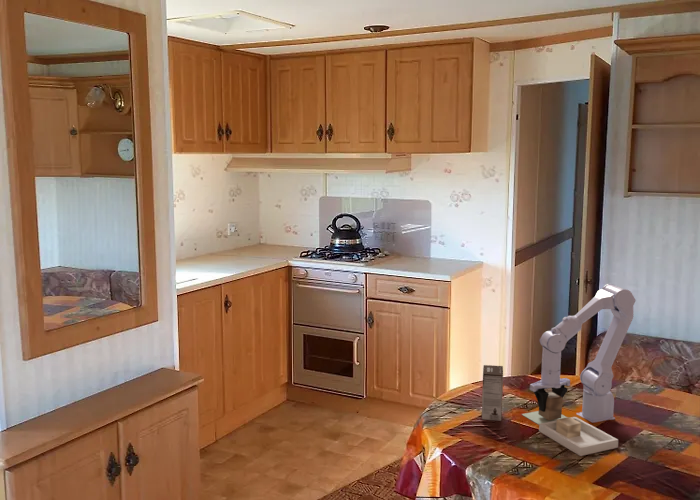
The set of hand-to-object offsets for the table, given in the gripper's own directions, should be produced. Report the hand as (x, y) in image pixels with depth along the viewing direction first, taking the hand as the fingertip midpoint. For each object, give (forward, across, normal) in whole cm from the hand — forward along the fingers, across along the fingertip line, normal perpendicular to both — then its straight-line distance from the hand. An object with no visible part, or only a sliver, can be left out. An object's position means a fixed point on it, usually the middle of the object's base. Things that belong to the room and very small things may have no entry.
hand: (549, 409), depth 212 cm
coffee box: (+4, -15, +10) cm, 18 cm away
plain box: (+3, -2, -12) cm, 12 cm away
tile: (+4, 0, 0) cm, 4 cm away
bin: (+4, -2, -16) cm, 16 cm away
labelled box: (+2, 0, 0) cm, 2 cm away
